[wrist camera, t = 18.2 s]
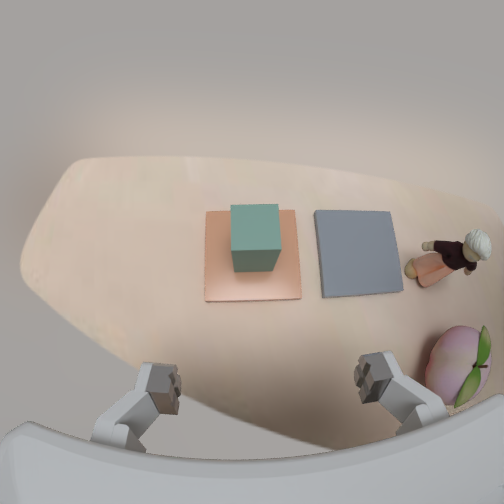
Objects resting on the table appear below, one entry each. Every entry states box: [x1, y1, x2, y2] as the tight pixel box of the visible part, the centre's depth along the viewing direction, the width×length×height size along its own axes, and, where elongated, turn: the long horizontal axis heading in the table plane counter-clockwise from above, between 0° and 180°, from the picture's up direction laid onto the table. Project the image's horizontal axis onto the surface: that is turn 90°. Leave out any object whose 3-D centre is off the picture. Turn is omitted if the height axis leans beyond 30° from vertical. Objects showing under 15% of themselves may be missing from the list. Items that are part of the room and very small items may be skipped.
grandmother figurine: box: [405, 229, 491, 287], centre depth 25 cm, size 8×4×13 cm, turn 76°
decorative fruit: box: [425, 325, 491, 408], centre depth 23 cm, size 9×8×10 cm
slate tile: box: [314, 210, 403, 298], centre depth 31 cm, size 10×10×1 cm
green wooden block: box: [231, 204, 282, 272], centre depth 27 cm, size 4×4×8 cm
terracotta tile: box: [205, 210, 302, 302], centre depth 31 cm, size 10×10×1 cm
